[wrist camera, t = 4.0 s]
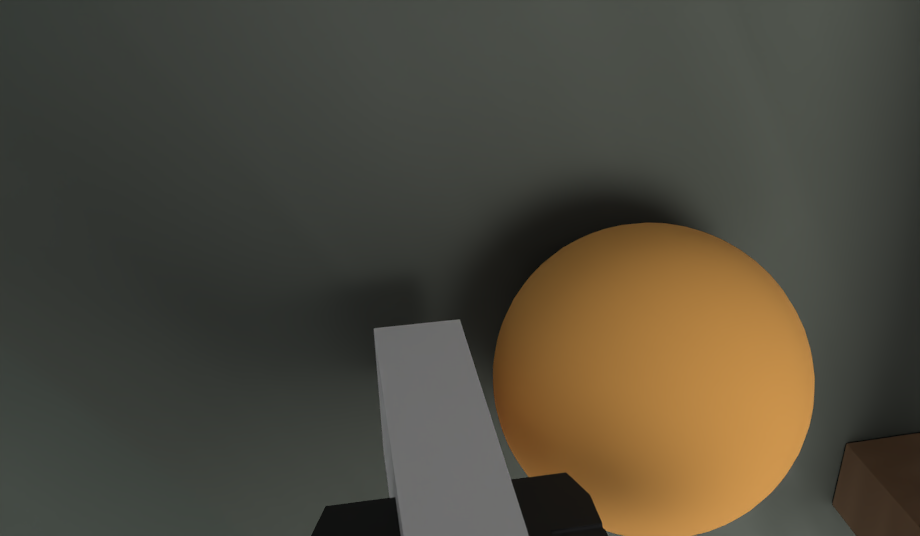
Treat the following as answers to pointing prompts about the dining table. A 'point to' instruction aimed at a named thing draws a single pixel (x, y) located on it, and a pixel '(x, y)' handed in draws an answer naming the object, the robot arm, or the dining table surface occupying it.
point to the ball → (655, 377)
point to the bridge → (881, 486)
